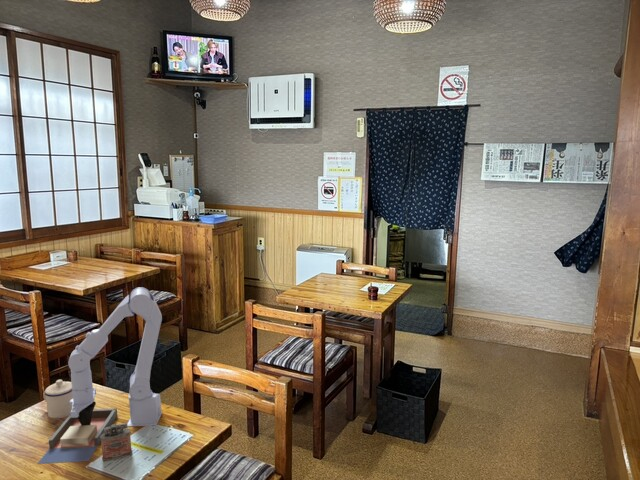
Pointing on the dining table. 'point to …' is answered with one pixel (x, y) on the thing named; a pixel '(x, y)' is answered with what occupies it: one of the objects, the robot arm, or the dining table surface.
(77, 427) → the slab
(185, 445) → the dining table surface
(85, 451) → the indigo mat
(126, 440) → the lighter
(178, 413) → the dining table surface
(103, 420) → the grey and pink tray
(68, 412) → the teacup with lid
